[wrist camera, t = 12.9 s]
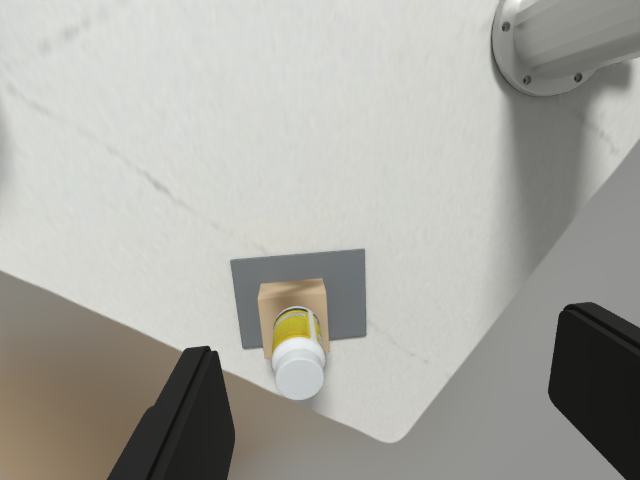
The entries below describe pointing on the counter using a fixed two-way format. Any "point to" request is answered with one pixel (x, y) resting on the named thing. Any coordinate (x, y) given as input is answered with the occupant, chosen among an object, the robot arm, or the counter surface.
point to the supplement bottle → (298, 353)
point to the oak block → (289, 295)
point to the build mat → (333, 267)
